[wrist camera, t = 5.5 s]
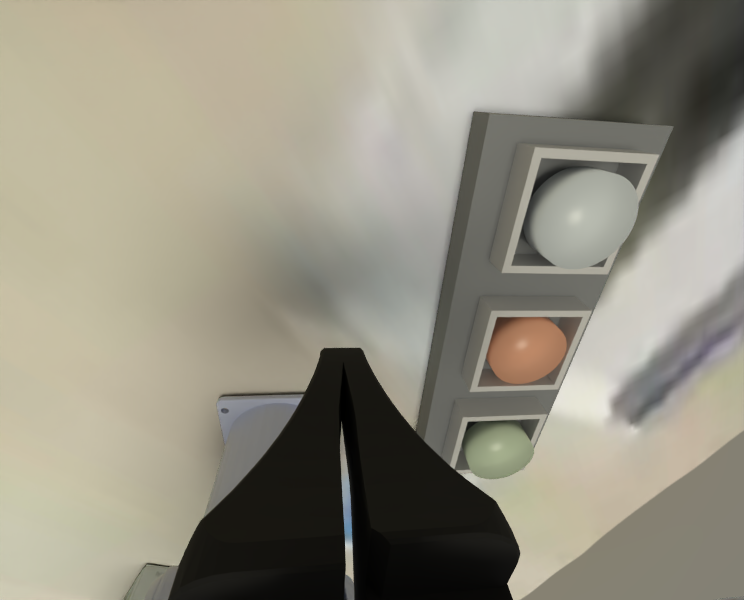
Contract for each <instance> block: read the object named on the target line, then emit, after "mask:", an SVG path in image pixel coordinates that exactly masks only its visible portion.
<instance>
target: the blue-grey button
mask: <svg viewBox="0 0 744 600" xmlns="http://www.w3.org/2000/svg"><path fill="white" fill-rule="evenodd" d="M637 214H638V196H637V193H636V190H635V188H634V186H633V185H632V184H631V182H630V181H629V180H627V179H626V178H625V177H623V176H621V175H618V174H615V173H611V172H608V171H604V170H600V169H597V168H593V167H589V166H575V167H571V168H567V169H564V170H562V171H560V172H558V173H556V174H554V175H553V176H551V177H550V178H549V179H547V180H546V181H545V182H544V183H543V184H542V185H541V186H540V187H539V188H538V189H537V191H536V192H535V193H534V195H533V196H532V198H531V200H530V201H529V204H528V207H527V211H526V215H525V218H524V222H523V228H524V234H525V237H526V240H527V242H528V243H529V245H530V246H531V247H532V248H533V249H534V250H535V251H537V252H538V253H539V254H541V255H542V256H543V257H545V258H546V259H547V260H548V261H550V262H551V263H553V264H554V265H556V266H558V267H560V268H564V269H582V268H586V267H590V266H592V265H595V264H597V263H599V262H601V261H602V260H604V259H606V258H607V257H608V256H610V255H611V254H612V253H614V252H615V251H616V250H617V249H618V248H619V247H620V246H621V245H622V244H623V242H624V241H625V240H626V238H627V237H628V235H629V234H630V232H631V230H632V228H633V226H634V224H635V221H636V218H637Z"/></svg>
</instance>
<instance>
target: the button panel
mask: <svg viewBox="0 0 744 600" xmlns="http://www.w3.org/2000/svg"><path fill="white" fill-rule="evenodd" d="M673 127H674V126H663V125H652V124H640V123H626V122H612V121H598V120H583V119H569V118H555V117H541V116H527V115H513V114H498V113H484V112H474V113H473V119H472V124H471V130H470V135H469V141H468V147H467V152H466V158H465V163H464V169H463V174H462V180H461V185H460V191H459V196H458V202H457V208H456V213H455V219H454V224H453V230H452V235H451V241H450V246H449V252H448V257H447V263H446V269H445V274H444V280H443V285H442V291H441V296H440V302H439V307H438V313H437V318H436V324H435V329H434V335H433V341H432V346H431V352H430V357H429V363H428V368H427V374H426V379H425V385H424V390H423V396H422V402H421V407H420V413H419V418H418V424H417V429H416V433H417V434H418V435H419V436H420V437H421V438H422V439H423V440H424V441H425V442H426V443H427V444H428V445H429V446H430V447H431V448H432V449H433V450H434V451H435V452H436V453H437V454H438V455H439V456H440V457H441V458H442V459H443V460H444V461H446V462H447V463H448V464H449V465H450V466H451V467H452V468H453V469H455V470H456V471H457V472H458V473H459V474H463V473H472V471H471V470H470V468H469V465H468V462H467V460H466V457H465V454H464V452H463V449H462V445H461V444H462V440H463V437H464V434H465V433H466V432H467V430H468V429H469V428H471V427H472V426H473V425H475V424H476V423H478V422H480V421H497V420H517V421H518V422H519V423H520V424H521V426H522V428H523V429H524V431H525V433H526V435H527V436H528V438H529V440H530V441H531V443H532V445H533V447H535V445H536V443H537V441H538V438H539V436H540V434H541V431H542V429H543V427H544V424H545V422H546V420H547V417H548V415H549V413H550V410H551V408H552V406H553V404H554V401H555V399H556V397H557V394H558V392H559V390H560V387H561V385H562V383H563V380H564V378H565V376H566V374H567V371H568V369H569V367H570V364H571V362H572V360H573V357H574V355H575V353H576V350H577V348H578V346H579V344H580V341H581V339H582V337H583V334H584V332H585V330H586V327H587V325H588V323H589V320H590V318H591V316H592V314H593V311H594V309H595V307H596V304H597V302H598V300H599V297H600V295H601V293H602V290H603V288H604V286H605V284H606V281H607V279H608V277H609V274H610V272H611V270H612V267H613V265H614V263H615V260H616V258H617V256H618V254H619V251H620V249H621V247H622V245H621V246H620V247H619V248H618V249H617V250H616V251H615V252H614V253H612V254H611V255H610V256H608V257H607V258H606V259H604V260H602V261H601V262H599V263H597V264H595V265H592V266H590V267H586V268H582V269H564V268H560V267H558V266H556V265H554V264H553V263H551V262H550V261H548V260H547V259H546V258H545V257H543V256H542V255H541V254H539V253H538V252H537V251H535V250H534V249H533V248H532V247H531V246H530V245H529V243H528V242H527V240H526V237H525V234H524V228H523V222H524V218H525V215H526V211H527V207H528V204H529V201H530V200H531V198H532V196H533V195H534V193H535V192H536V191H537V189H538V188H539V187H540V186H541V185H542V184H543V183H544V182H545V181H546V180H547V179H549V178H550V177H551V176H553V175H554V174H556V173H558V172H560V171H562V170H564V169H567V168H571V167H575V166H589V167H593V168H597V169H600V170H604V171H608V172H611V173H615V174H618V175H621V176H623V177H625V178H626V179H627V180H629V181H630V182H631V184H632V185H633V186H634V188H635V190H636V193H637V196H638V207H639V205H640V203H641V200H642V198H643V196H644V193H645V191H646V189H647V187H648V184H649V182H650V180H651V177H652V175H653V173H654V170H655V168H656V166H657V163H658V161H659V159H660V157H661V154H662V152H663V150H664V147H665V145H666V143H667V140H668V138H669V136H670V133H671V131H672V129H673ZM498 317H548V318H549V319H550V320H551V321H552V322H553V323H554V324H555V325H556V326H557V327H558V328H559V329H560V330H561V331H562V332H563V333H564V335H565V337H566V342H567V348H566V352H565V355H564V357H563V359H562V360H561V362H560V363H559V364H558V366H557V367H556V368H555V369H554V370H553V371H551V372H550V373H549V374H547V375H546V376H544V377H542V378H540V379H538V380H536V381H533V382H529V383H524V384H512V383H508V382H505V381H503V380H501V379H499V378H498V377H497V376H496V375H495V373H494V371H493V370H492V368H491V366H490V365H489V363H488V361H487V360H486V354H487V351H488V347H489V344H490V340H491V336H492V333H493V329H494V326H495V322H496V319H497V318H498ZM524 468H525V467H524ZM524 468H523V469H521V470H524Z"/></svg>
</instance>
